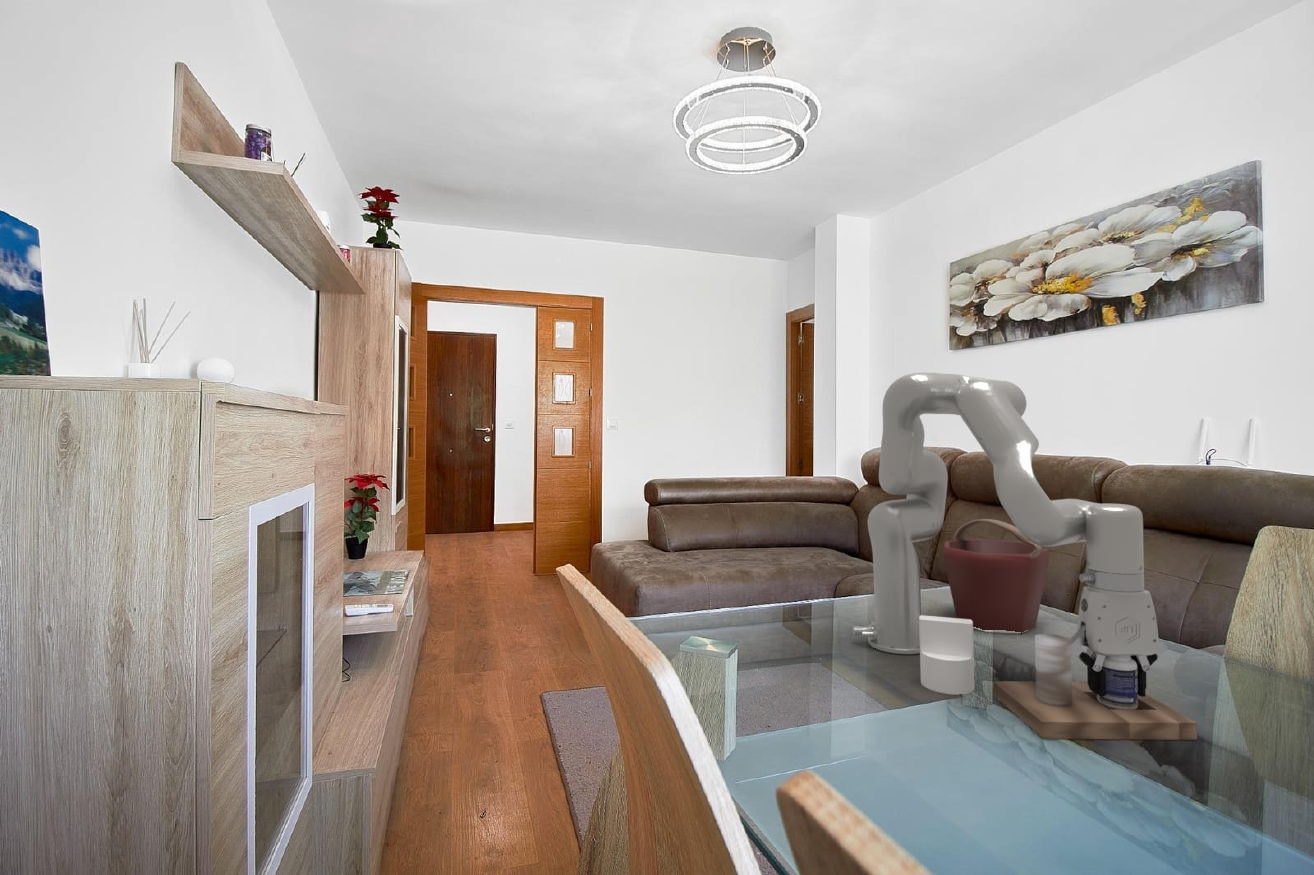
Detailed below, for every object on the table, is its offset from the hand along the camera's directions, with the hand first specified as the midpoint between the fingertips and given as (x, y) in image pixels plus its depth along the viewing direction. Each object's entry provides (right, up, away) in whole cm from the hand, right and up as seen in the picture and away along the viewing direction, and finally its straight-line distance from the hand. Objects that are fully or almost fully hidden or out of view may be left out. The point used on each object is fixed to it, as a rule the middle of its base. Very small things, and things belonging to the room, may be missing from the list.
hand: (1116, 692), depth 103 cm
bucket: (+6, -4, +50) cm, 51 cm away
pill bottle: (0, -2, 0) cm, 2 cm away
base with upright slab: (-21, -5, +14) cm, 26 cm away
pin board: (-5, -4, 0) cm, 6 cm away
